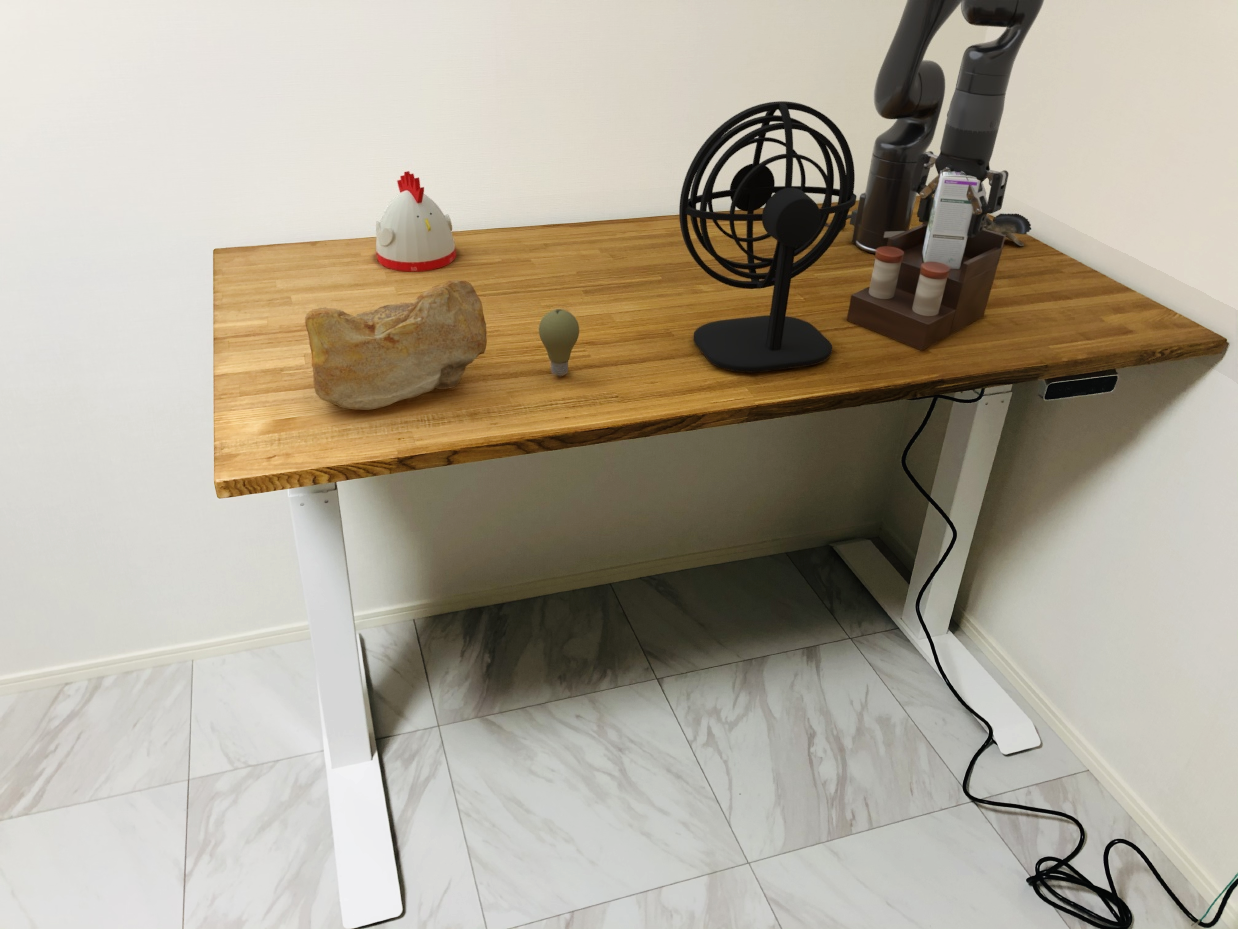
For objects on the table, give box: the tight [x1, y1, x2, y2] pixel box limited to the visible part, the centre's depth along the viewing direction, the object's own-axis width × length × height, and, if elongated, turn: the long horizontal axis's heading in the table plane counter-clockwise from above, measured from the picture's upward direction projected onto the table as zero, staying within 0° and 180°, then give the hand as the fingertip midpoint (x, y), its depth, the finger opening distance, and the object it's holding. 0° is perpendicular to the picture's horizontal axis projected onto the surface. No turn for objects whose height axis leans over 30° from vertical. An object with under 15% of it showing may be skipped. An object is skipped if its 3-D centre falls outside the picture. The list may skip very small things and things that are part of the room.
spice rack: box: [846, 220, 1007, 351], centre depth 148 cm, size 19×14×14 cm
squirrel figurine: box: [983, 213, 1032, 247], centre depth 180 cm, size 8×7×9 cm
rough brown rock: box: [304, 279, 488, 411], centre depth 126 cm, size 23×17×15 cm
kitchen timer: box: [375, 170, 457, 272], centre depth 163 cm, size 14×14×15 cm
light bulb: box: [538, 308, 580, 378], centre depth 130 cm, size 6×6×10 cm
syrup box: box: [922, 171, 980, 269], centre depth 145 cm, size 6×6×14 cm
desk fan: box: [678, 100, 857, 373], centre depth 132 cm, size 27×18×35 cm, turn 107°
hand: (947, 228), depth 146 cm, fingers open, 8 cm apart
